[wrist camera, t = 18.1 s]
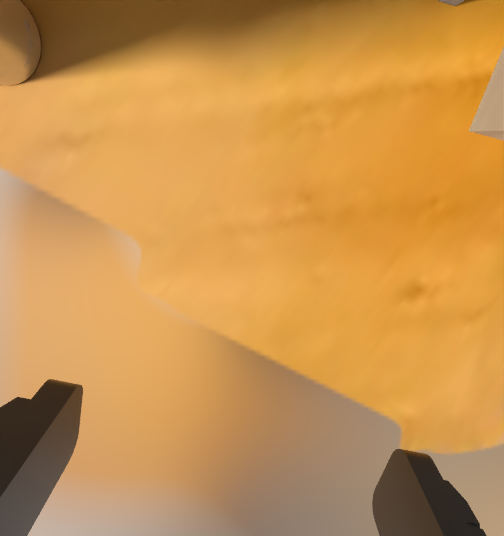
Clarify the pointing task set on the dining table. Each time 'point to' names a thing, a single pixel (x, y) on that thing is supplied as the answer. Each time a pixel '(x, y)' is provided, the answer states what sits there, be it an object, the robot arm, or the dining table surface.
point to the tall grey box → (452, 2)
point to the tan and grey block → (492, 105)
